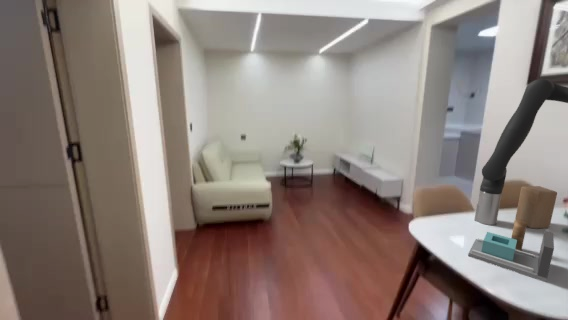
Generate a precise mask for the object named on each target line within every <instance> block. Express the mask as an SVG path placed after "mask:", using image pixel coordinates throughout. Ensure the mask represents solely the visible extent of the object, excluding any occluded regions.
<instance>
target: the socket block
mask: <svg viewBox="0 0 568 320" xmlns="http://www.w3.org/2000/svg"><path fill="white" fill-rule="evenodd" d="M482 240H483V246H482V252H483V253H486V254H489V255H492V256H495V257H499V258H502V259H505V260H508V261H511V262H513V257H514V253H515V248H516V243H517V240H516V239H512V237H508V236H504V235H501V234H497V233H494V232H490V231H487V232H486V233H485V236H484V238H483V239H482Z"/></svg>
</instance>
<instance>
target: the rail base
mask: <svg viewBox="0 0 568 320" xmlns="http://www.w3.org/2000/svg"><path fill="white" fill-rule="evenodd" d="M554 235H555V234H554V232H552V231H548V230H544V231H543V236H542V239H541V244H540V250H539V254H538V256H537V255H535V254H532V253H530V252H526V251H523V250H521V251H520V250H516V249H515V253H514V257H513V262H511V261H508V260H505V259H502V258H499V257H495V256H492V255H489V254H486V253H483V252H482V246H483V240H484V239H481V238H475V240H474V241H473V244H472V245H471V247H470V250H469V251H468V253H467V256H468V257H471V258H472V259H475V260H479V261H482V262H485V263H487V262H488V263H487V264H490V263H491V265H493V264H494V265H493V266H496V265H497V266H496V267H499V266H500V267H499V268H503V269H505V268H506V270H508V269H509V271H511V270H512V272H514V271H515V273H517V272H518V274H520V275H524V276H527V277H530V278H532V279H536V280H539V281H541V282H545V283H547V281H548V276H549V271H550V266H551V263H552V259H553V254H554V250H555V244H554V243H555V239H554V238H555V237H554Z"/></svg>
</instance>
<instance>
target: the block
mask: <svg viewBox="0 0 568 320" xmlns="http://www.w3.org/2000/svg"><path fill="white" fill-rule="evenodd" d="M557 195H558V192H557V191H555V190H552V189H549V188H547V187H544V186H539V185H530V186H529V185H527V186H526V185H525V186H521V187H520V193H519V199H518V204H517V208H516V213H515V218H514V221H515V220H522V221H525V222H527V227H528V228H530V229H549V228H550V225H551V223H552V222H551V221H552V217H553V213H554V208H555V204H556V199H557Z"/></svg>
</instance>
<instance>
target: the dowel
mask: <svg viewBox="0 0 568 320" xmlns="http://www.w3.org/2000/svg"><path fill="white" fill-rule="evenodd" d="M513 222H514V223H513V228H512V232H511V233H512V234H511V238H512V239H516V240H517V243H516V248H515V249H516V250H520V251H523V250H522V249H523V245H524V240H525V236H526V232H527V231H526V230H527V227H528V226H527V222H525V221H522V220H515V219H514V221H513Z"/></svg>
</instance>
